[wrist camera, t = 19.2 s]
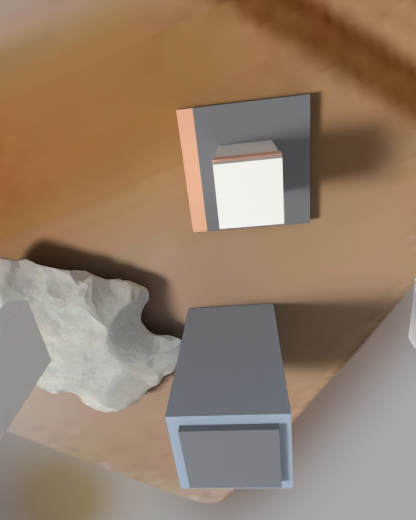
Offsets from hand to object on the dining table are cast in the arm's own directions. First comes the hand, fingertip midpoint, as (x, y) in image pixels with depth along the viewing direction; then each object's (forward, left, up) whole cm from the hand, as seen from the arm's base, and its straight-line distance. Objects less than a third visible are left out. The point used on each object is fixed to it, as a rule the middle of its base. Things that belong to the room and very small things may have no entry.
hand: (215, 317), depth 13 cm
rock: (+17, -19, -27) cm, 37 cm away
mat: (0, +2, -27) cm, 27 cm away
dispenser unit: (+21, -1, -27) cm, 34 cm away
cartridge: (+1, +2, -26) cm, 26 cm away
